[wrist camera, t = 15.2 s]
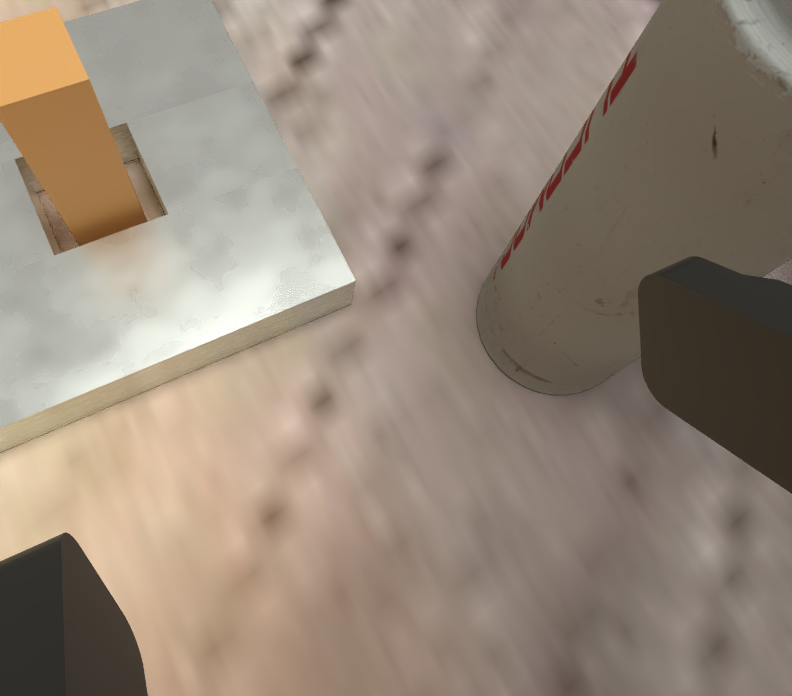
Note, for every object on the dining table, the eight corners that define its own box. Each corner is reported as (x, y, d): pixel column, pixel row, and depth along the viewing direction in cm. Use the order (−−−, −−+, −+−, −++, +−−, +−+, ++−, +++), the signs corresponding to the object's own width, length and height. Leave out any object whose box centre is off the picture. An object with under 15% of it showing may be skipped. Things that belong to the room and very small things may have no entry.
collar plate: (208, 25, 40) (202, -18, 37) (350, 304, 36) (355, 280, 33) (-140, 129, 36) (-178, 90, 33) (-21, 461, 32) (-52, 449, 29)
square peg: (129, 184, 37) (56, 6, 25) (153, 237, 36) (89, 79, 25) (66, 206, 36) (-40, 33, 25) (89, 261, 35) (-8, 108, 24)
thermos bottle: (444, 309, 37) (822, -381, 10) (550, 222, 39) (1078, -521, 13) (553, 428, 36) (1289, -11, 9) (655, 330, 38) (1476, -241, 12)
